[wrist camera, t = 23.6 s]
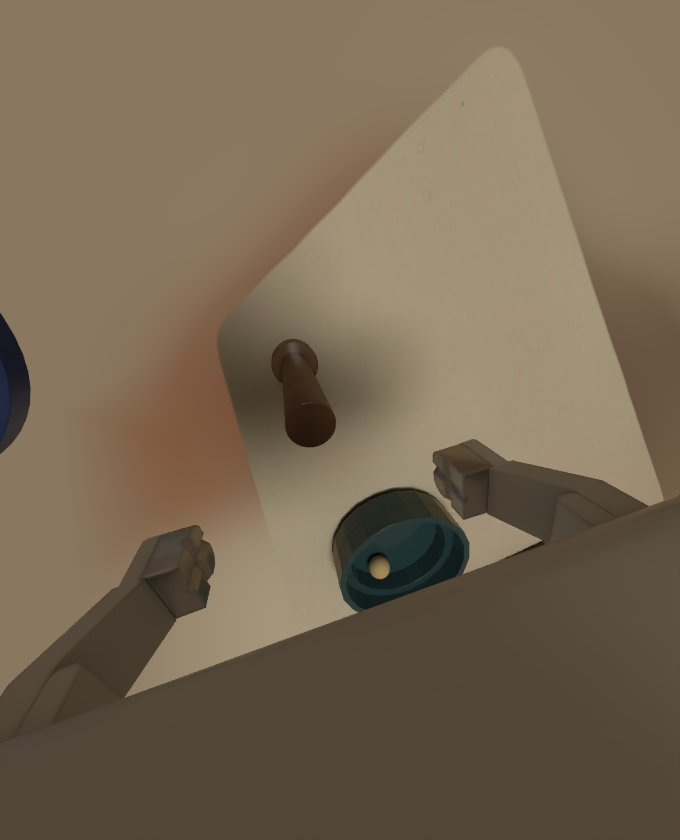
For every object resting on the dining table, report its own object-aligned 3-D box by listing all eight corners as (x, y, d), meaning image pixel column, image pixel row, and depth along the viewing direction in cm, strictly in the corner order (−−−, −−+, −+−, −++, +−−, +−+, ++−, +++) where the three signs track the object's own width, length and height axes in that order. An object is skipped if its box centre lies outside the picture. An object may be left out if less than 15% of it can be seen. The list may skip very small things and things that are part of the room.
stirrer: (278, 386, 29) (279, 471, 15) (266, 344, 27) (254, 395, 13) (319, 376, 30) (359, 450, 15) (310, 334, 28) (345, 374, 13)
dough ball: (396, 568, 40) (386, 587, 39) (380, 559, 43) (370, 577, 41) (388, 555, 39) (377, 575, 38) (372, 548, 41) (361, 566, 40)
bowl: (344, 591, 44) (354, 632, 39) (319, 509, 37) (326, 545, 31) (446, 557, 46) (469, 591, 41) (442, 471, 39) (469, 500, 33)
